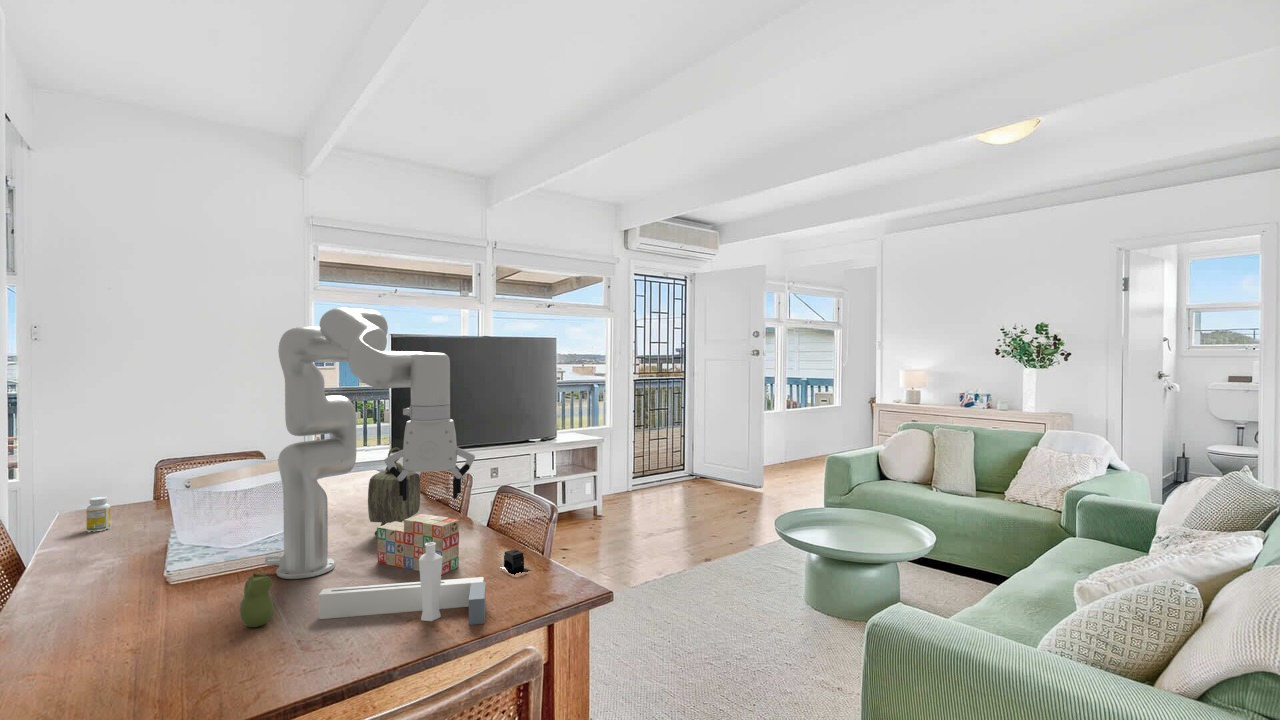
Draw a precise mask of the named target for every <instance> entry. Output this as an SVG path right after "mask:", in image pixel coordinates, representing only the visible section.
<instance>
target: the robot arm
mask: <svg viewBox="0 0 1280 720" xmlns="http://www.w3.org/2000/svg"><path fill="white" fill-rule="evenodd" d="M388 329H389V327H388V322H387V320H386V318H385V317H384V315H383V314H382V313H381V312H379V311H377V310H374V309H367V308H365V309H364V308H348V307H336V308H332V309H330V310H328V311H326V312H325V313H324V314H322V316H321V318H320V320H319V326H298V327H297V326H296V327H293V328H290V329H288V330H286V331H285V332H284V333H283V334H282V335H281V337H280V340H279V342H278V350H277V351H278V358H279V363H280V366H281V370H282V373H283V378H284V412H285V413H284V416H285V417H284V418H285V427H286V430H287V432H288V433H289V434H290V435H292V436H295V437H308V436H320V435H327V434H328V435H329V438H325V439H314V440H313V439H312V440H306V441H299V442H293V443H291V444H289V445H287V446H286V447H284V448H283V449H282V450H281V451H280V452H279V455H278V459H277V460H278V463H277V464H278V469H279V470H278V471H279V475H280V480H281V485H282V496H283V497H282V501H283V505H282V506H283V553H280V554H278V555H276V554H272V555H266V556H265V558H264V562H265V564H266V565H267V566H278V567H277V569H276V576H277V577H279V578H281V579H286V580H299V579H308V578H313V577H317V576H320V575H323V574H326V573H328V572H331V571H332V570H333V569H334V568H335V565H336V562H335V559H333V558H330V557H329V543H328V542H329V533H328V532H329V529H328V527H329V526H328V523H329V522H328V521H329V520H328V518H329V517H328V516H329V515H328V510H329V509H328V496H327V495H328V494H327V493H326V491H325V489H324V487H322V486H321V485H320V484H319V482H318V480H320V479H325V478H330V477H335V476H340V475H344V474H348V473H350V472H351V471H352V470H353V469H354V468H355V465H356V462H357V413H356V412H357V411H356V408H355V406H354V404H353V402H352V401H351V399H350V398H349V397H346V396H344V395H336V394H335V395H325V394H326V392H325V378H324V375H323V373H322V372H321V370H320V368H318V366H317V365H316V364H315V363H347V362H348V367H349V370H350V371H351V373H352V374H353V375H354V376H355V378H357V379H359V380H360V381H361V382H362V383H364V384H366V385H368V386H369V387H372V388H375V389H379V390H381V389H395V388H397V389H400V388H410V406H409V407H406V408H402V415H403V416H407V417H409V419H410V420H407V421H406V424H405V427H404V428H405V429H404V432H403V445H402V446H403V448H402V449H400V450H401V451H397V452H395V453H393V454H390V456H389V457H388V456H387V457H385V459H384V463H385V465H386V467H388V468H389V470H390V472H391V473H392V474H393V475H394V476H395V477H396V478H397V479H398V481H399V495H400V496H403V501H406V500H407V499H408V497H409V479H408V478H407V475H408V474H409V472H416V473H426V472H429V473H430V472H431V473H432V472H448V471H449V472H450V473H451V475H453V476H454V477H453V479H452V498H453V499H456V500H457V499H458V496H459V494H461V492H462V478H463V476H464V475H465V474H466V473H467V472H468V471H469V470H470V468H471V466H472V465H473V462H474V461H475V459H476V455H474V454H473V453H472V452H470V451H469V452H468V451H466V450H464V449H462V448H460V447H458V446H457V433H456V432H457V431H456V428H455V422H454V419H451V360H450V357H449V356H448V354H446V353H444V352H426V351H415V350H414V351H409V350H407V351H406V350H405V351H403V350H401V351H399V350H398V351H396V350H389V351H388V350H386V349H387V346H388V345H387V343H388V338H387V335H388V331H389V330H388ZM458 457H461V458H464V459H465V460H466V461H465V463H464V465H463V466H462V467H460V468H459V466H458V465H457V461H458ZM399 458H400V459H401V458H402V466H403V469H404V470H403V471H401V470H400V469H399V468H398V467H396V465H395V463H394V461H395V460H397V459H399ZM400 459H399V460H400Z"/></svg>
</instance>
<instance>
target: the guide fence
mask: <svg viewBox="0 0 1280 720" xmlns="http://www.w3.org/2000/svg"><path fill="white" fill-rule="evenodd" d="M484 580H485V579H484V576H479V577H466V578H465V577H464V578H463V577H462V578H455V579H454V578H452V579H441V586H440V600H439V610H445V609H457V608H458V609H459V608H466V607H467V608H468V625H469V626H472V625H482V624H483V625H485V618H486V606H487V605H486V603H487V602H486V600H487V599H486V596H487V595H486V593H487V590H486V588H487V587H486V584H487V583H486V581H484ZM420 611H421V612H423V609H422V596H421V582H420V581H415V582H414V581H411V582H401V583H400V582H399V583H387V584H386V583H385V584H373V585H372V584H371V585H360V586H345V587H343V586H342V587H331V588H323V589H322V590H321V591H320V592H319V594H318V619H319V620H326V619H338V618H339V619H340V618H349V617H362V616H375V615H386V614H387V615H388V614H399V613H408V612H409V613H410V612H420Z"/></svg>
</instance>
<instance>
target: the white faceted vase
mask: <svg viewBox="0 0 1280 720" xmlns="http://www.w3.org/2000/svg"><path fill="white" fill-rule="evenodd" d="M435 544H436V543H434V542H429V543H426V544H425V546H426V553H425V554H423V555H422V556H421V557H420V559H419V569H420V571H419V580H420V581H419V582H421V596H422V609H423V611H421V612H422V613H421V618H420V621H426V622H434V621H435V620H437V619H439V618H441V617H442V615H441V612H440V609H439V600H440V586H441V580H442V576H441V572H442V558H443V556H441V555H439V554H437V553H435Z"/></svg>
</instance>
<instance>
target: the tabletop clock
mask: <svg viewBox="0 0 1280 720" xmlns="http://www.w3.org/2000/svg"><path fill="white" fill-rule="evenodd" d="M401 450H402V449H400V448H399V447H393V448H391V449H390V450H389V451H388V453H387V457H389V456H391V455H392V454H391V453H392V452H393V451H397V452H399V451H401ZM400 459H401V458H399V459H397V460H395V461H394V463H395V465H396V467H398V468H399V469H400V470H401V471H403V470H404V469H403V464H402V463H400V462H398V461H399V460H400ZM420 477H421V476H420V474H419V473H418V472H409V474H408V475H407V478H408V479H409V497H408V499H407V500H406V501H403V496H400V495H399V481H398V479H397V478H396V477H395V476H394V475H393V474H392V473H391V472H390V470H389V468H388V467H387V466H386V467H385V470H381V471H379V472H378V473H377V472H376V473H374V474H373V475H372V476H371V477H370V478H369V480H368V481H369V482H368V491H367V509H368V510H367V512H368V519H369V522H370V523H381V524H380V526H383V525H386V524H388V523H391V522H395V521H397V522H404V520H405V519H408V518H411V517H414V515H415V516H416V515H417V513H419V511H420V507H421V479H420ZM373 534H374V536H376V537H377V530H375V532H374V533H373Z"/></svg>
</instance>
